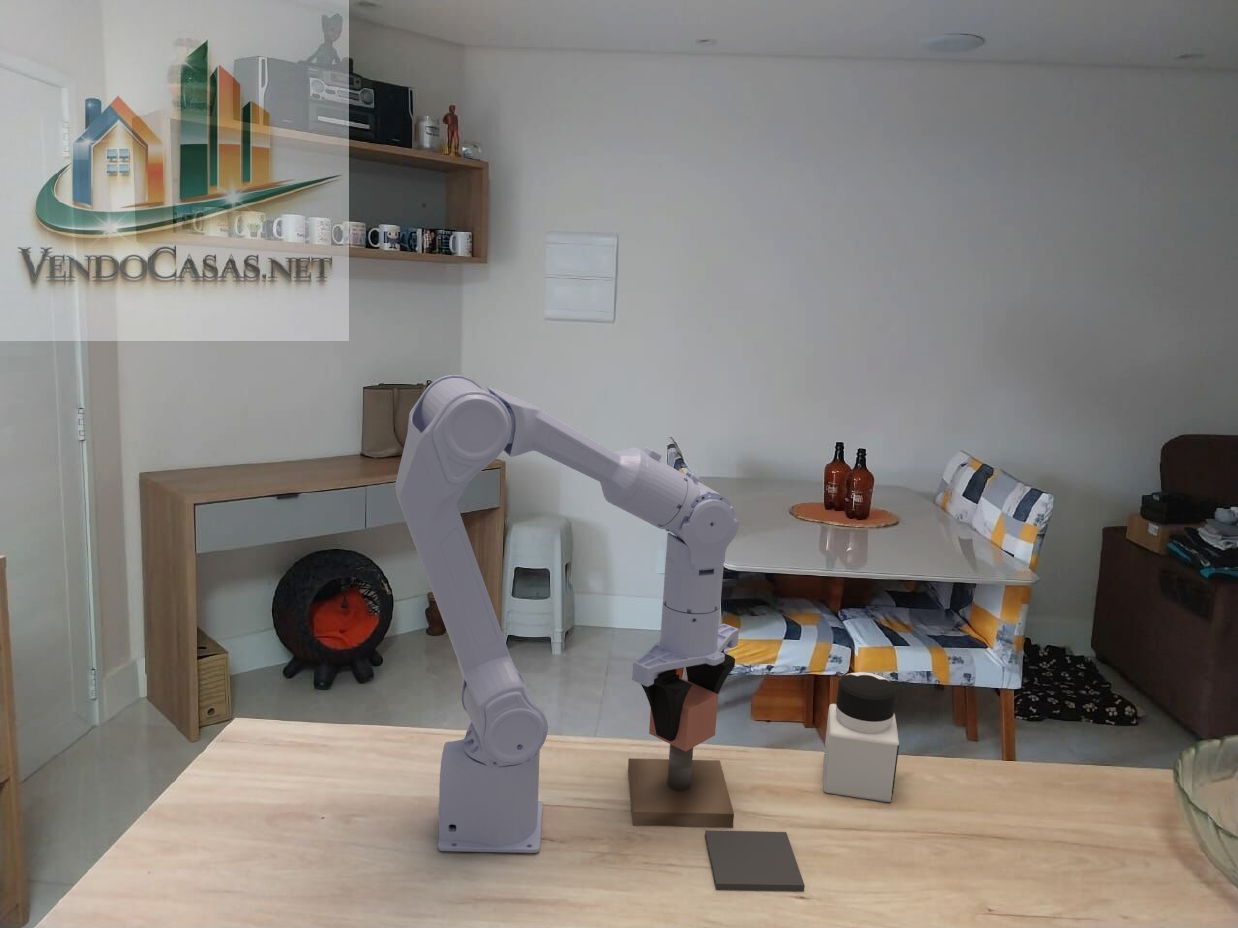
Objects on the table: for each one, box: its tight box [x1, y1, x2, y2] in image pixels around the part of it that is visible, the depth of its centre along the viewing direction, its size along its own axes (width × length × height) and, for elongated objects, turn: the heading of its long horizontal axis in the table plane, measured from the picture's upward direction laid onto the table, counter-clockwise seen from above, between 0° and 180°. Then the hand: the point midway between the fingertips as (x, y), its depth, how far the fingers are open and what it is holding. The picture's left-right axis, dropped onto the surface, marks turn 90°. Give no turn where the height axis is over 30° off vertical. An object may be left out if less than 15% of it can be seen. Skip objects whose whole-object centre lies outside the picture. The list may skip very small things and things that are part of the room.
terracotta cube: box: [648, 677, 719, 752], centre depth 99 cm, size 5×5×5 cm
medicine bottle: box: [823, 671, 900, 803], centre depth 105 cm, size 7×7×12 cm
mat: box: [704, 829, 805, 892], centre depth 91 cm, size 8×8×1 cm
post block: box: [627, 744, 735, 828], centre depth 100 cm, size 10×10×6 cm
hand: (682, 727), depth 99 cm, fingers closed on terracotta cube, 5 cm apart
